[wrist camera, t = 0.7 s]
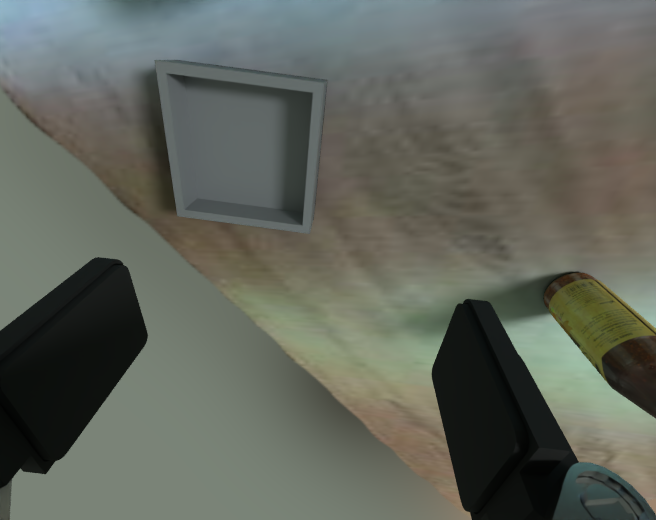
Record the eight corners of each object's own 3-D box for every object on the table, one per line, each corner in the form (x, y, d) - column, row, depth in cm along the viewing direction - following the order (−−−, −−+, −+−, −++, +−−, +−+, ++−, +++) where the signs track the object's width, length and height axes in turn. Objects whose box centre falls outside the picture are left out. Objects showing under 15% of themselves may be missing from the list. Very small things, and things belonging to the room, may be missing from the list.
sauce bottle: (530, 304, 41) (654, 478, 24) (560, 263, 37) (729, 432, 21) (578, 315, 41) (734, 494, 24) (612, 276, 38) (820, 452, 21)
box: (177, 60, 29) (154, 60, 26) (327, 80, 29) (323, 82, 26) (193, 201, 36) (177, 216, 33) (313, 217, 36) (309, 233, 33)
